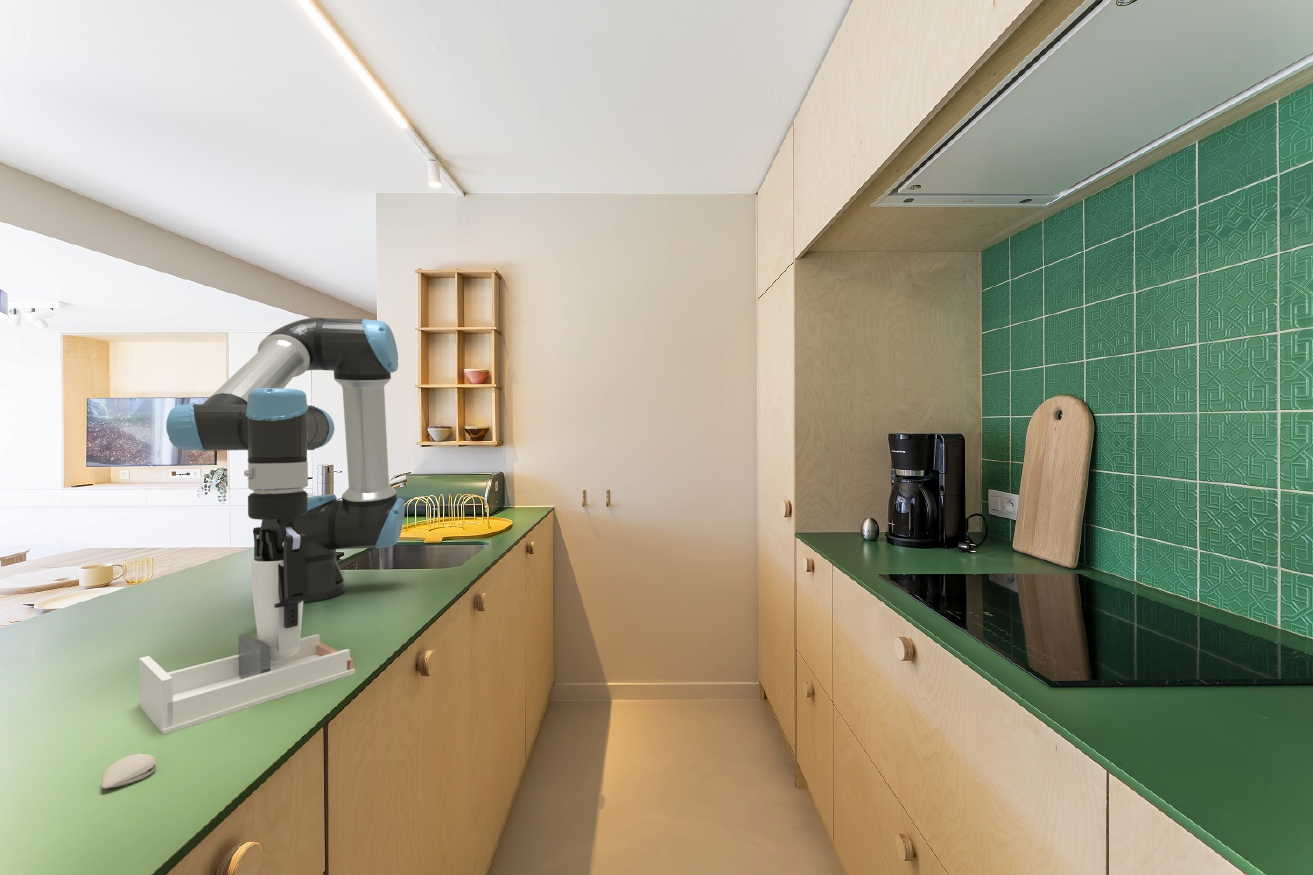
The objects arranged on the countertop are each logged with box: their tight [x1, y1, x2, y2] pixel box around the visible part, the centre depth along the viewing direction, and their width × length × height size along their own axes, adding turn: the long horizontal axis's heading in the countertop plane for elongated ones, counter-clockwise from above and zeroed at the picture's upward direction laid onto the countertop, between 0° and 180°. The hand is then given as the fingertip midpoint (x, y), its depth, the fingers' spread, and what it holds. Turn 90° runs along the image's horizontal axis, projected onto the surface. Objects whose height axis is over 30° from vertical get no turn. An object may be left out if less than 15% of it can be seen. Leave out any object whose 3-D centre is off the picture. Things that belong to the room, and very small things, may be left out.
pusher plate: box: [238, 633, 270, 679], centre depth 83 cm, size 1×9×6 cm, turn 52°
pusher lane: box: [138, 633, 356, 735], centre depth 83 cm, size 23×13×7 cm, turn 142°
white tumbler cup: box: [251, 556, 304, 661], centre depth 86 cm, size 7×7×15 cm
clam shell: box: [101, 753, 157, 789], centre depth 61 cm, size 4×5×2 cm
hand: (279, 642), depth 86 cm, fingers closed on white tumbler cup, 6 cm apart
